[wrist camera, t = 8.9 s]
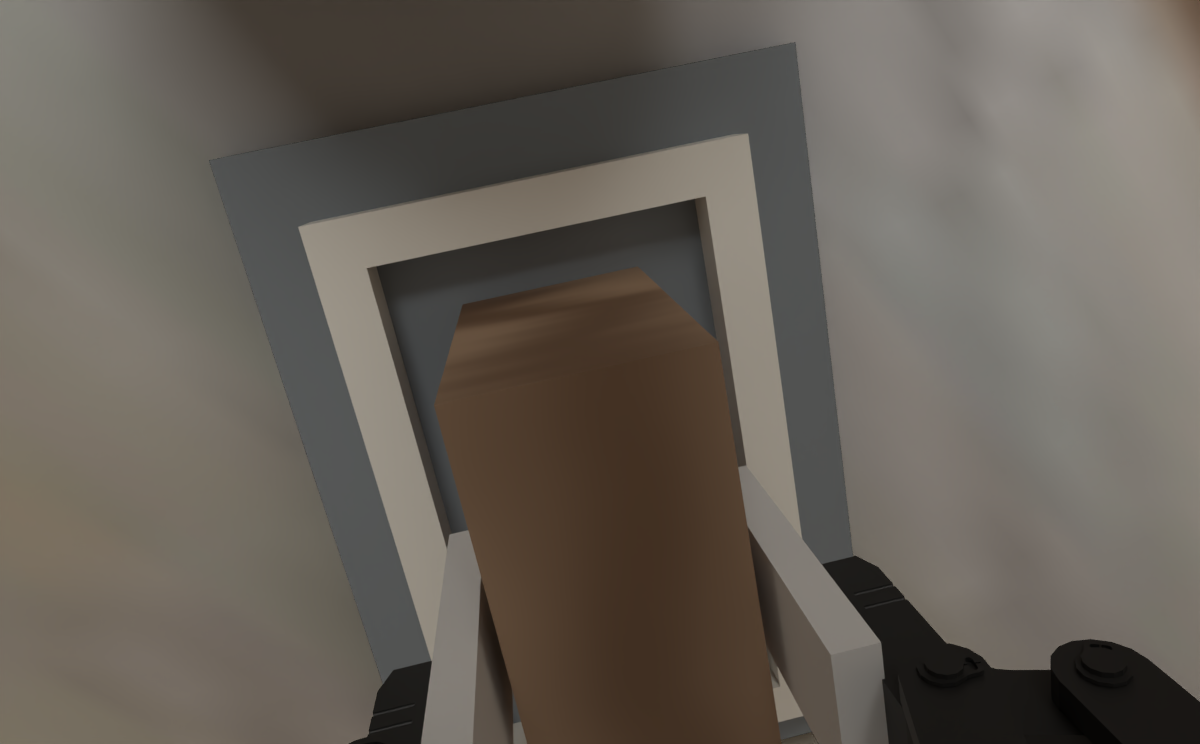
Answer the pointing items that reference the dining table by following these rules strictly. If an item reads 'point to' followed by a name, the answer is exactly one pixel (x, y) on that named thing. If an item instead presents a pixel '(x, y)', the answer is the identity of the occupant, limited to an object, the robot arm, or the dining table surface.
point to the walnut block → (608, 515)
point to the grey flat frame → (528, 261)
